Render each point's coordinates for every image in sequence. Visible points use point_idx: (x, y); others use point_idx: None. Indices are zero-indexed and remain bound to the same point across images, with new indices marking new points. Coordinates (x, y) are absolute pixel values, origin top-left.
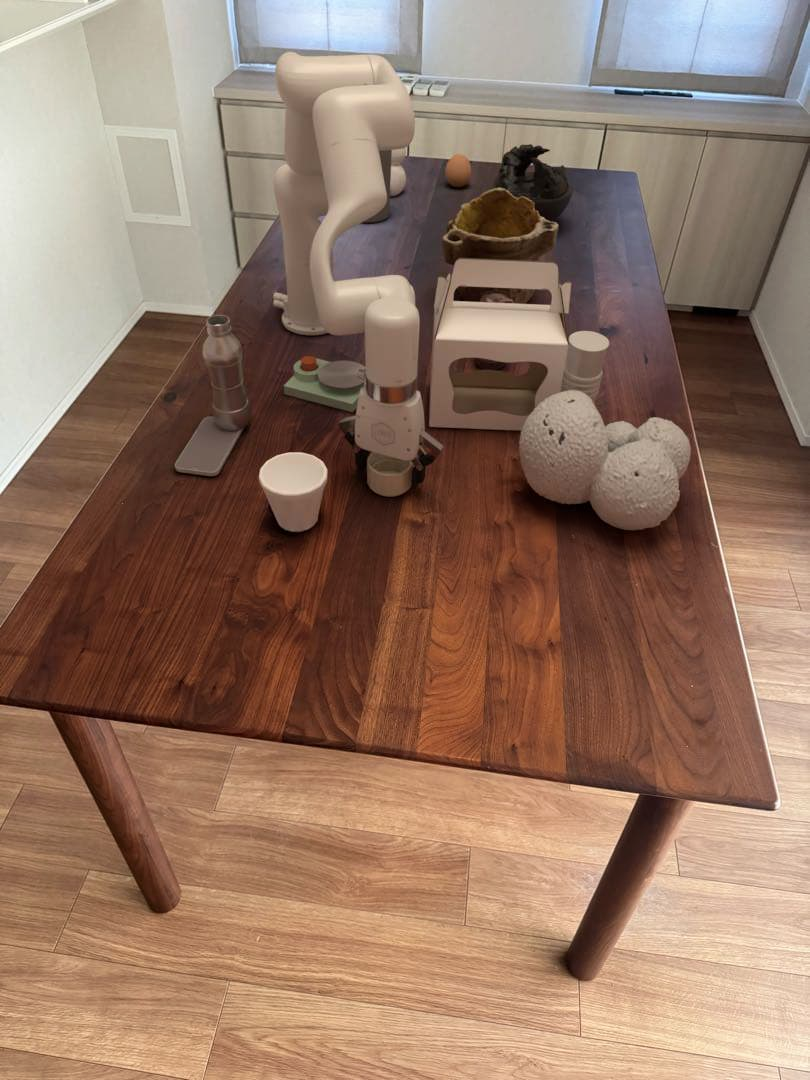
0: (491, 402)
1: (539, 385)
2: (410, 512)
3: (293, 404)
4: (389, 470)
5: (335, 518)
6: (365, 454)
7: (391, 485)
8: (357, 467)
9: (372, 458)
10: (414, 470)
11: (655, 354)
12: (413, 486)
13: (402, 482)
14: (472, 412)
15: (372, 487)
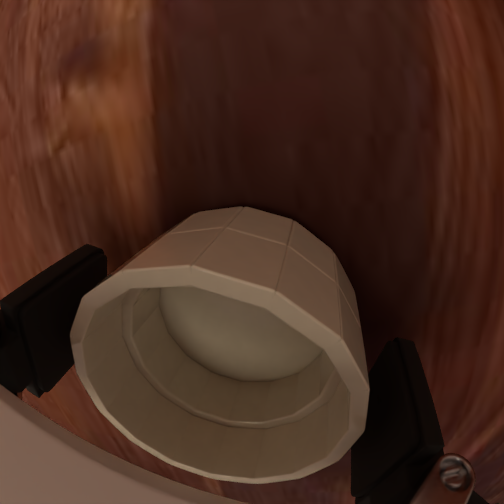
0: None
1: None
2: (112, 125)
3: (495, 495)
4: (258, 378)
5: (463, 24)
6: (375, 448)
7: (180, 232)
8: (419, 364)
9: (331, 429)
10: (7, 304)
11: None
12: (84, 251)
13: (123, 263)
14: None
15: (320, 247)
